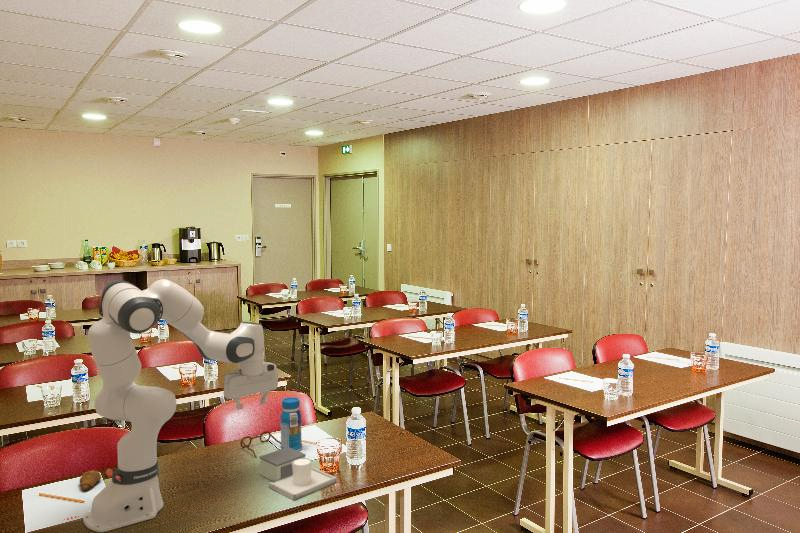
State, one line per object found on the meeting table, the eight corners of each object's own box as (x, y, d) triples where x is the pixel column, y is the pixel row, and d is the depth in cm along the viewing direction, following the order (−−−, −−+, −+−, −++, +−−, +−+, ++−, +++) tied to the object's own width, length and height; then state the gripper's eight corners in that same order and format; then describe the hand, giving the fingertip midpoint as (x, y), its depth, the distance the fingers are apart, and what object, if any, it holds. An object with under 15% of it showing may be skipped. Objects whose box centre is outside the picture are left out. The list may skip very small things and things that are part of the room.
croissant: (96, 492, 197) (96, 477, 197) (74, 494, 196) (73, 479, 195) (106, 475, 210) (105, 461, 210) (85, 477, 209) (84, 463, 208)
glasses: (269, 441, 243) (269, 429, 243) (286, 450, 234) (285, 438, 233) (239, 449, 235) (239, 437, 234) (255, 459, 225) (255, 446, 225)
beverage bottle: (276, 452, 231) (276, 401, 229) (285, 444, 239) (285, 395, 237) (297, 454, 229) (296, 403, 227) (305, 446, 237) (305, 397, 236)
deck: (294, 500, 191) (294, 480, 190) (250, 478, 208) (250, 459, 207) (336, 482, 204) (336, 463, 204) (292, 462, 221) (291, 445, 220)
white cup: (314, 478, 205) (314, 458, 205) (309, 486, 199) (308, 466, 198) (295, 476, 206) (295, 457, 206) (289, 485, 200) (289, 465, 199)
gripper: (229, 373, 199) (229, 414, 199) (280, 364, 214) (280, 402, 214) (219, 370, 203) (220, 410, 204) (270, 361, 218) (270, 399, 219)
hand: (251, 406), depth 209 cm, fingers open, 8 cm apart
